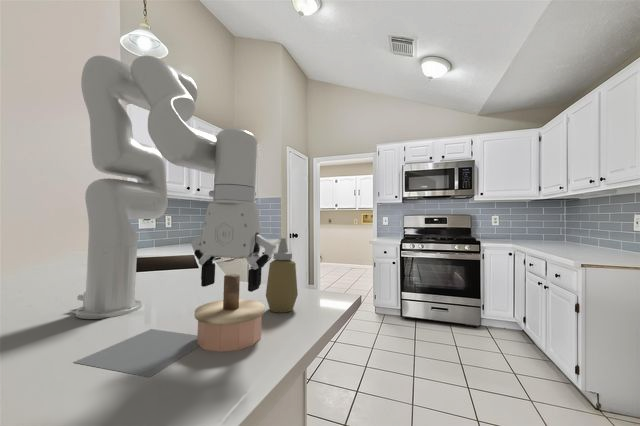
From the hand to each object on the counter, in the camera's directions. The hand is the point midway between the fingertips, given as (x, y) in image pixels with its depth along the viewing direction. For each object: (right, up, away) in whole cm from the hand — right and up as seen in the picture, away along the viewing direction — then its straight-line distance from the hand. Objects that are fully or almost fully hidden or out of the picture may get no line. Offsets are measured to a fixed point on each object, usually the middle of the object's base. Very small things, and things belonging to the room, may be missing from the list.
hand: (230, 287), depth 53 cm
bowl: (0, -10, -1) cm, 10 cm away
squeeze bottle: (+7, -11, +18) cm, 22 cm away
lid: (0, -5, 0) cm, 5 cm away
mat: (-12, -9, -6) cm, 16 cm away
